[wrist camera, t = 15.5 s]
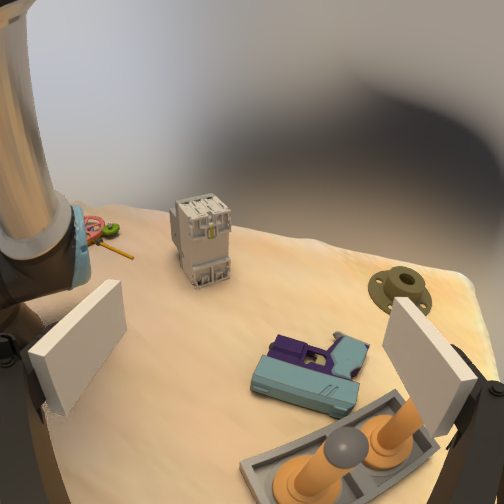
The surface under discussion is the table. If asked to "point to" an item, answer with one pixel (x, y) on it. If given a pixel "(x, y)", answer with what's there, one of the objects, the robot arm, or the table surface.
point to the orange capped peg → (391, 437)
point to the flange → (399, 288)
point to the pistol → (312, 374)
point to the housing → (359, 478)
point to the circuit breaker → (202, 238)
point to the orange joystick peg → (320, 469)
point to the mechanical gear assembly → (102, 233)
